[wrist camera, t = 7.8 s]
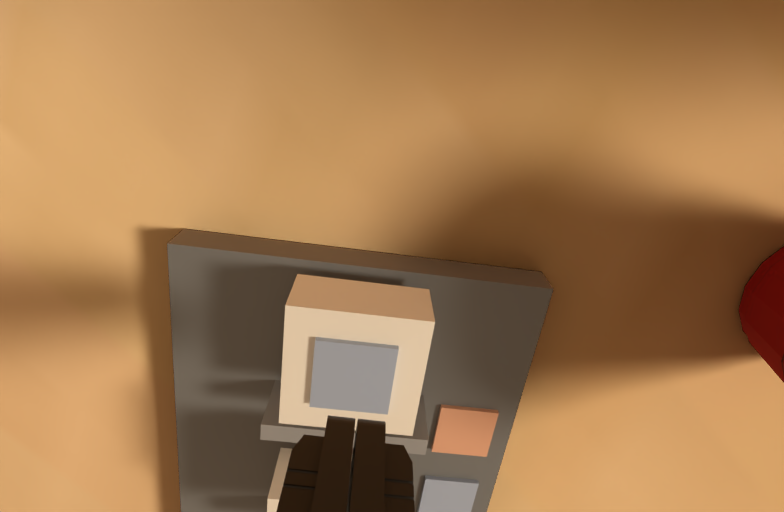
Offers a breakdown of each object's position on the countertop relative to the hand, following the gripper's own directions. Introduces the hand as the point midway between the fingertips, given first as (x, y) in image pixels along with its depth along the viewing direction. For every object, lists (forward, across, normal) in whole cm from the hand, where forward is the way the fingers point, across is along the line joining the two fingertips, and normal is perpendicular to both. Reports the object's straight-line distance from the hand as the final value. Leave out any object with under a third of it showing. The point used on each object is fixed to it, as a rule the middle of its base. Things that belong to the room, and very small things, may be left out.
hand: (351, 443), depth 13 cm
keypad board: (+8, 0, +7) cm, 10 cm away
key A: (+7, 0, 0) cm, 7 cm away
